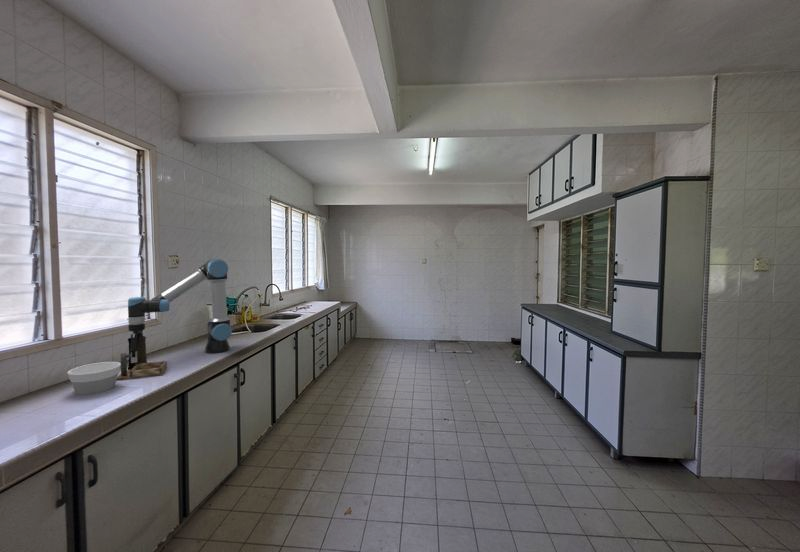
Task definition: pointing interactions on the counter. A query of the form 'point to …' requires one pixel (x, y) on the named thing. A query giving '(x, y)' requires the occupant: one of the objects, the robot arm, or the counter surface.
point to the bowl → (94, 377)
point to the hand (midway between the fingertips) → (137, 359)
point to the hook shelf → (140, 369)
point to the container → (139, 352)
